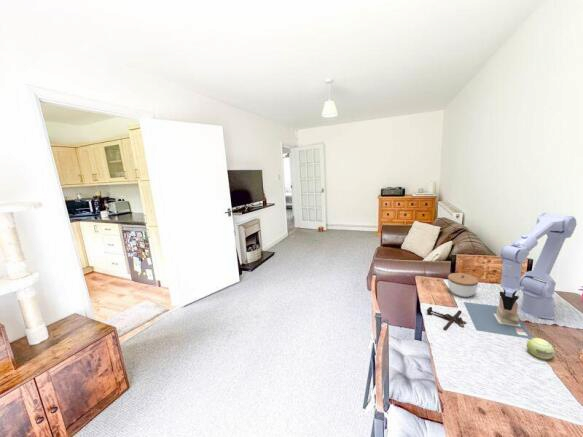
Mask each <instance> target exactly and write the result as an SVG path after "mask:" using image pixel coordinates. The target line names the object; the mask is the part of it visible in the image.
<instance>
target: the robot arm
mask: <svg viewBox="0 0 583 437" xmlns="http://www.w3.org/2000/svg"><path fill="white" fill-rule="evenodd" d="M577 225H578V224H577V219H576V217H575V216H574V215H563V214H554V213H547V212H542V213H540V215H539V216H538V217H537V219H536V224H535V226H534V227H533V228H532V229H531V230H530V231H529V232H528V233H527V234H526V233H525V234H521V235H520V236H519V237H518V238H517V239H516V240H514V241H513V242H512V243H511V244H510V245H505V246H503V247H502V248H501V249H500V252H499V257H500V258H501V259H500V261H501V263H502V270H501V278H500V279H501V280H500V287H501V288H502V289H503V290H502V291H500V292H499V297H501V298H502V301H503V306H504V309H506V310H510V311H511V310H512V307H513V305H514V303H515V301H516V302H517V300H519V296H518V295H516V294H517V292H518V291H521V292H522V299H521V300H522V301H521V305H518V307H517V308H518V309H519V310H520V311H521V312H522V314H524V316H529V317H536V318H537V319H545V320H546V319H547V320H552V321H553V320H554V321H555V317H554V314H555V308H556V302H555V299H554V297H553V295H554V293H555V291H556V290H555V287H556V284H557V283H556V281H555V280H554V278H552V277H551V276H550V274H551V272H552V270H553V267H554V265H555V263H556V261H557V258H558V256H559V255H560V252H561V250H562V248H563V246H564V243H565V240H566V239H568V238H571V237H572V235H573V234H574V231H575V230H576V227H577ZM545 235H546V236H547V237H546V240H545V242H544V245H543V246H542V248H541V251H540V253H539V256H538V259H537V261H536V263H535V265H534V267H533V269H532V270H528V271H526V272H524V273H523V274H522V270H523V263H525V262H526V260H527V258H528V256H529V255H530V251H532V250H533V249H534V248H535V247H537V245H538V244H539V242H538V240H539V239H541V238H542V237H544V236H545Z"/></svg>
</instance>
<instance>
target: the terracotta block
mask: <svg viewBox="0 0 583 437" xmlns="http://www.w3.org/2000/svg"><path fill="white" fill-rule="evenodd" d="M498 306H499V307H500V309H501V310H502V312H505V313H512V314H517V313H518V308H519V307H518V306H519V305H518V303H517V300H516V301H515V303H514V305H513V307H512V310H511V311H510V310H506V309H504V306H503V301H502V298H501V296H499V304H498Z"/></svg>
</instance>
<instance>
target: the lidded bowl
mask: <svg viewBox="0 0 583 437" xmlns="http://www.w3.org/2000/svg"><path fill="white" fill-rule="evenodd" d="M447 283H448V288H449V290H450V291H451V292H452V293H453V294H454V295H456V296H458V297H462V298H463V297H464V298H468V297H472V296H474V295H475V293H476V292H477V290H478V286H479V285H478V284H479V280H478V278H477V277H476V276H473V275H471V274H469V273H463V272H451V273H450V274H448V275H447Z"/></svg>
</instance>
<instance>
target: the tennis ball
mask: <svg viewBox="0 0 583 437" xmlns="http://www.w3.org/2000/svg"><path fill="white" fill-rule="evenodd" d="M526 342H527V343H526V348H527V350H528V352H529V353H530V354H531V355H532V356H534V357H536V358H538V359H541V360H550V359H552V358H553V357H554V355H555V348H554V346H553V345H552V344H550V342H549V341H547V340H545V339H543V338H540V337H534V338H532V339H529V340H528V341H526Z"/></svg>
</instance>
